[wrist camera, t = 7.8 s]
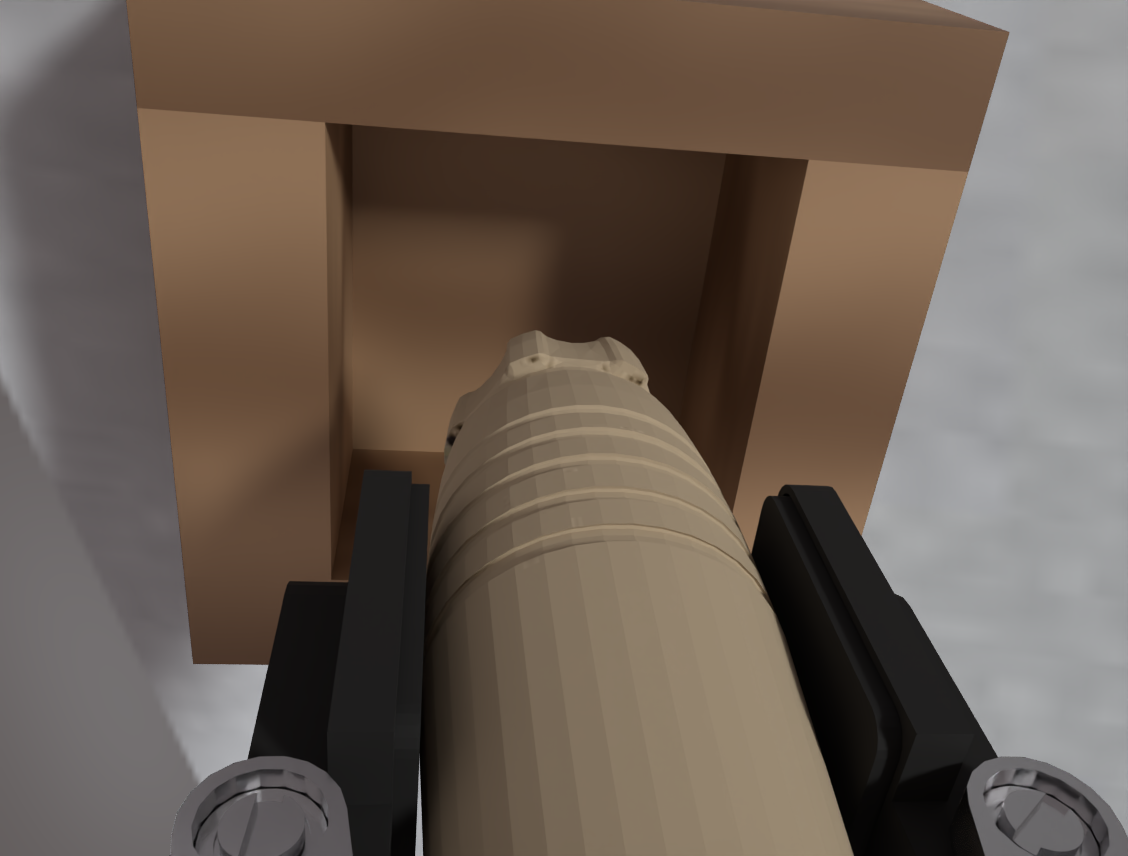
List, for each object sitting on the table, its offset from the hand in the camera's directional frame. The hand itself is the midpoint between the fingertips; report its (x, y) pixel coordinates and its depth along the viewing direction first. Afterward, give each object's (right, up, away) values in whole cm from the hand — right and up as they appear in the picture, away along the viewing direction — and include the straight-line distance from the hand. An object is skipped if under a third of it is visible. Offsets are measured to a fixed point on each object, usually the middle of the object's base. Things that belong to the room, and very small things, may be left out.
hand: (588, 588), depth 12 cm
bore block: (-1, +6, +10) cm, 11 cm away
